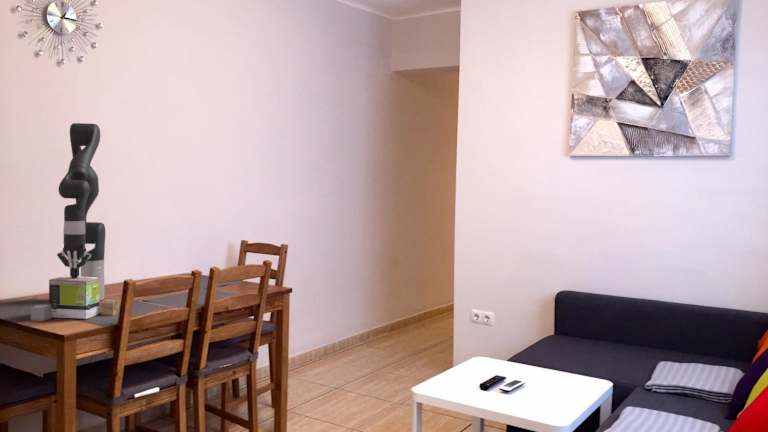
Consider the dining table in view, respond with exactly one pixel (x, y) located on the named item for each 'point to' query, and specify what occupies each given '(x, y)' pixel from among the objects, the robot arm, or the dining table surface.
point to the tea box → (74, 297)
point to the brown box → (109, 307)
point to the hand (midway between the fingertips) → (74, 277)
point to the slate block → (41, 312)
